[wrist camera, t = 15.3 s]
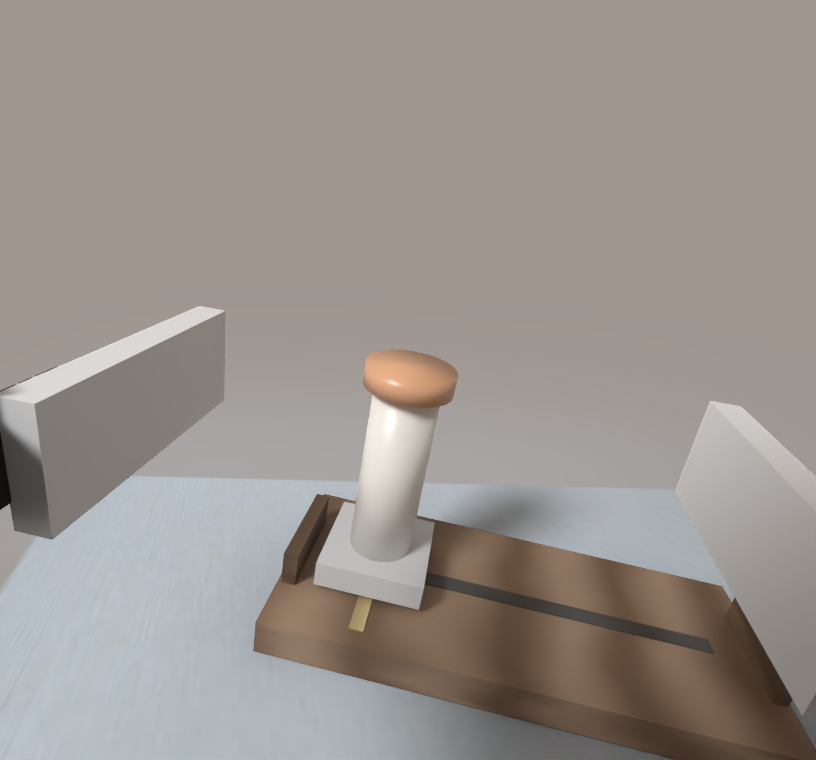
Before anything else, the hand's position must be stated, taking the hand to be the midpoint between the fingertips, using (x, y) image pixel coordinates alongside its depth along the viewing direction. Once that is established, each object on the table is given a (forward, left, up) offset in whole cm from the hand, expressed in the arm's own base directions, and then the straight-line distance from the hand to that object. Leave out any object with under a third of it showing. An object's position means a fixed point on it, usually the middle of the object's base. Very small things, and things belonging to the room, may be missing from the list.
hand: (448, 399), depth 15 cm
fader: (+2, -12, -17) cm, 21 cm away
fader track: (-7, -12, -19) cm, 24 cm away
